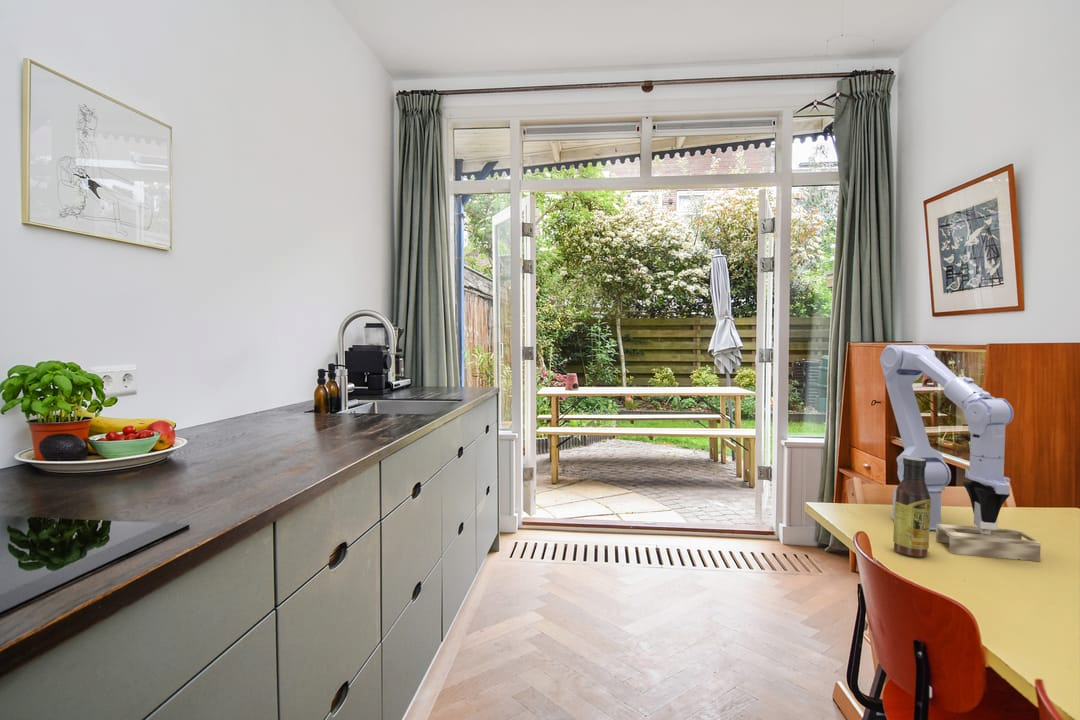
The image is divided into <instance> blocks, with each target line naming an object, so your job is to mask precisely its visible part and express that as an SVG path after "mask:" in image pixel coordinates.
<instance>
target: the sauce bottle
mask: <svg viewBox="0 0 1080 720" xmlns="http://www.w3.org/2000/svg"><path fill="white" fill-rule="evenodd" d="M903 464H904V475H903V478H904V479H903V480H902V481H901V482H899V484H898V485H897V487H896V488H897V489H896V500H895V514H894V520H893V538H892V542H893V548H894V551H896V552H897V553H898V554H901V555H905V556H909V557H917V558H919V557H920V558H921V557H926V556H927V554H928V549H929V548H930V531H931V530H930V509H931V498H930V495H929V492H928V489H927V486H926V483H925V467H926V460H925V459H922V458H916V457H904V458H903Z"/></svg>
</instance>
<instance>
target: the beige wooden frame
mask: <svg viewBox="0 0 1080 720" xmlns="http://www.w3.org/2000/svg"><path fill="white" fill-rule="evenodd" d="M1022 538H1024V539H1022ZM935 541H936V542H937V543H942V544H944V543H946V544H948V553H950V554H952V555H953V554H954V555H964V556H965V555H966V556H977V557H987V558H996V557H997V558H999V559H1007V558H1008V559H1009V560H1018V559H1020V560H1021V561H1028V560H1029V562H1031V561H1032V562H1041V546H1042V544H1041V542H1040V541H1039V540H1037V539H1034V538H1033V537H1032V536H1030V535H1028V534H1026V533H1025V532H1023V531H1021V530H1020V529H1007V528H997V530H993V529H991V535H982V534H980V528H979V527H977V526H971V525H970V526H969V525H958V524H948V523H947V524H946V523H945V524H944V523H941V524H936V531H935ZM1008 559H1007V560H1008Z"/></svg>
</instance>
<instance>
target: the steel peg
mask: <svg viewBox="0 0 1080 720" xmlns="http://www.w3.org/2000/svg"><path fill="white" fill-rule="evenodd" d="M998 520H999V519H998V517H997V520H996V522H995V523H988V522H983V521H982V518H981V510H980V503H979V501H974V513H973V525H974V526H975V527H979V528H980V534H982V535H991V529H993V530H997V529H998V522H999V521H998Z"/></svg>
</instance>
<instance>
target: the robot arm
mask: <svg viewBox="0 0 1080 720" xmlns="http://www.w3.org/2000/svg"><path fill="white" fill-rule="evenodd" d="M885 346H886V347H884V348H883V350H882V352H881V355H880V357H879V363H880V366H881V369H882V370H881V371H882V373H883V377H884V381H885V386H886V389H887V393H888V397H889V400H890V404H891V408H892V411H893V414H894V417H895V421H896V425H897V428H898V432H899V435H900V438H901V442H902V447H903V449H904V450H903V451H902V452H901V453H900V454H899V455H898V456H897V457H896V463H897V472H896V473H897V477H898V478H897V479H898V480H899V483H901V481H902V480H903V479H904V478H903V475H904V464H903V458H904V457H916V458H922V459H925V460H926V467H925V483H926V486H927V489H928V492H929V495H930V498H931V509H930V530H929V531H935V532H936V524H942V497H943V496H942V493H943V492H942V491H945V487H946V486H948V485H949V484H950V483H951V479H952V472H951V469H950V467H949V465H948V464H947V463H946V462H945V460H944V457H943V454H942V453H941V452H939V451H937V449H934V448H933V447H931V444H930V441H929V437H928V434H927V431H926V428H925V424H924V421H923V418H922V414H921V411H920V408H919V405H918V402H917V397H916V394H915V390H914V388H913V384H914V383H915V382H916V381H917V380H919V379H920V377H922V375H923V374H924V375H926V376H927V377H929V378H930V379H931V380H933V381H934V382H936V383H937V384H938V385H940V386H941V387H942V388H943V394H944V395H945V396H946V398H947V399H948V400H950V401H951V402H952V403H953V404H954V405H956V406H957V407H958V408H959V409H960V410H961V411H962V412H963V416H964V417H963V418H964V419H965V421H966V422H967V428H968V429H967V431H968V432H969V434H970V444H969V468H965V469H964V470H965V471H964V473H965V474H964V477H965V478H966V479H969V480H971V481H969V482H968V481H964V482H963V487H964V489H965V490H966V492H967V494H968V497H969V500H970V503H971V508H972V511H973V512H972V513H973V514H974V501H979V503H980V510H981V518H982V521H983V522H988V523H995V522H996V520H997V517H998V516H999V514H1000V511H1001V509H1002V507H1003V505H1004V503H1005V502H1006V500H1007V499H1008V498H1009V497H1010V495H1011V494H1010V492H1011V491H1010V487H1011V486H1010V484H1009V483H1010V482H1011V478H1009V477H1007V476H1005V475H1004V474H1005V452H1006V451H1005V450H1006V449H1005V447H1006V445H1005V444H1006V426H1007V425H1009V424H1010V423H1012V421H1013V419H1014V416H1015V415H1014V408H1013V406H1012V405H1011V404H1010V402H1008V401H1007V399H1005V398H1002V397H998V398H996V397H994V396H991V393H990V392H988V391H985V390H983V389H982V388H981V387H980V386H979V385H977V384H976V383H974V382H975V380H974V379H973V378H972V377H966V376H957V375H956V374H955V373H954V372H953V371H951V370H950V369H949V368H948V367H947V366H946V365H945V364H944V363H943V362H942V361H941V360H940V359H939V358H938V357H936V352H935V350H933V349H931V348H930V346H928V345H925V344H919V345H917V344H913V345H912V344H909V345H908V344H906V345H905V344H901V345H900V344H899V345H898V344H888V345H885ZM896 489H897V487H894V490H893V495H892V516H891V519H892V520H893V521H894V514H895V500H896Z"/></svg>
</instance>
